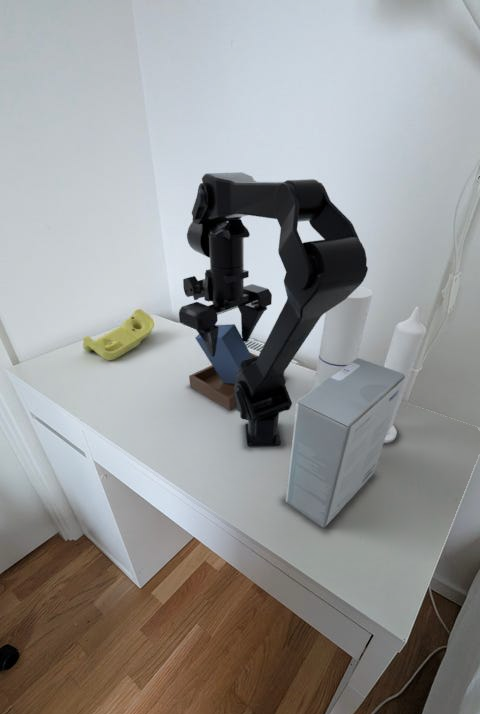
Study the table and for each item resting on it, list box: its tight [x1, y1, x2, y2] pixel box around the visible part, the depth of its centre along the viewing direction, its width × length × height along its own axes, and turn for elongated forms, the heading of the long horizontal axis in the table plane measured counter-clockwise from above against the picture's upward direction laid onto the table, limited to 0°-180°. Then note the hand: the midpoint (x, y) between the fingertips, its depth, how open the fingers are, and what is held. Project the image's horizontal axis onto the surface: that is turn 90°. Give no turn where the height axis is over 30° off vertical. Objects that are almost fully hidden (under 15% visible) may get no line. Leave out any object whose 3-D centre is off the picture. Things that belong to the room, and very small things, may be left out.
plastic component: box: [82, 308, 155, 361], centre depth 97 cm, size 20×7×10 cm
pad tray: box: [188, 352, 259, 411], centre depth 81 cm, size 19×14×3 cm
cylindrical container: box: [313, 285, 373, 389], centre depth 65 cm, size 7×7×25 cm
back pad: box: [194, 323, 252, 384], centre depth 75 cm, size 9×4×13 cm, turn 46°
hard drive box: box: [285, 357, 405, 528], centre depth 50 cm, size 16×8×20 cm, turn 136°
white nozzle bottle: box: [383, 306, 427, 444], centre depth 60 cm, size 7×7×25 cm
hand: (229, 348), depth 67 cm, fingers open, 9 cm apart
